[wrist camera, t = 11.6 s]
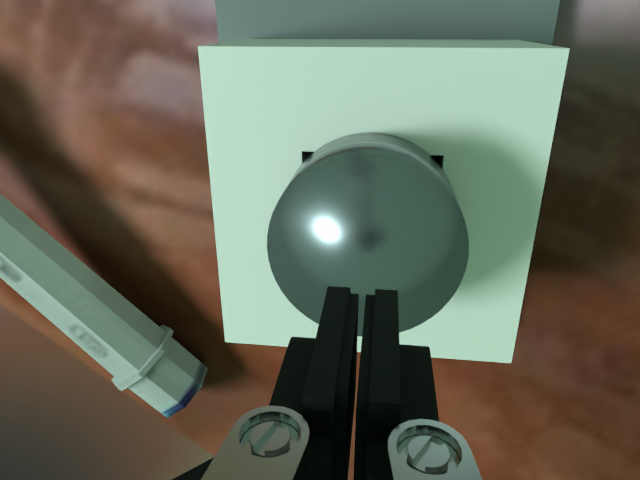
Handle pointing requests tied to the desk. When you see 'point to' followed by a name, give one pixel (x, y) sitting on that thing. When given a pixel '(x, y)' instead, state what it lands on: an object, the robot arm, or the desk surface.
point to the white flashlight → (96, 315)
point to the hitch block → (390, 118)
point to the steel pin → (369, 228)
